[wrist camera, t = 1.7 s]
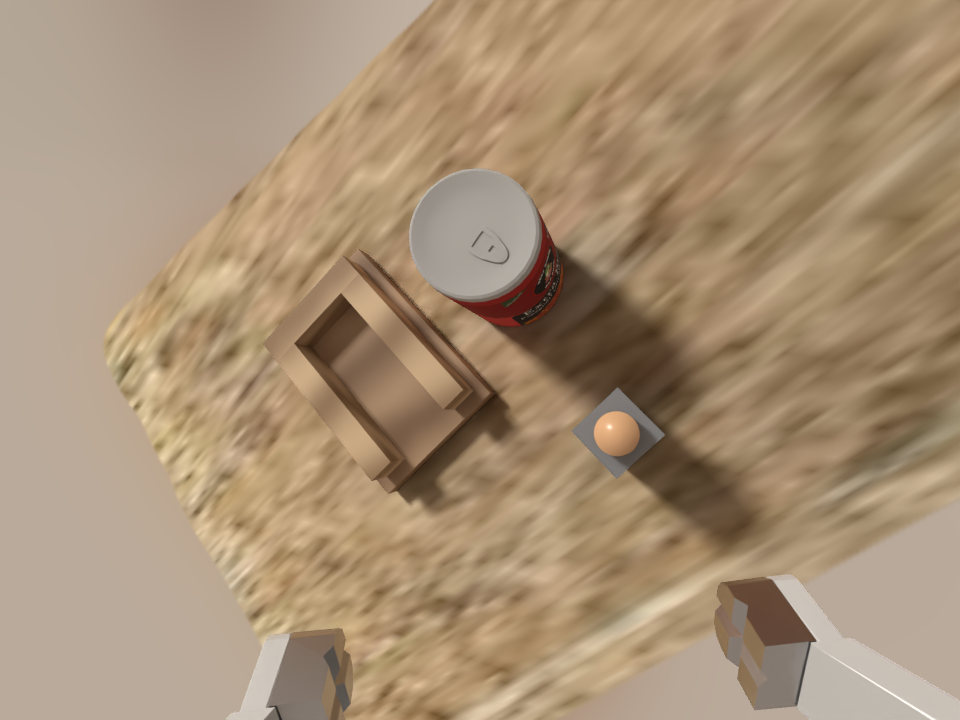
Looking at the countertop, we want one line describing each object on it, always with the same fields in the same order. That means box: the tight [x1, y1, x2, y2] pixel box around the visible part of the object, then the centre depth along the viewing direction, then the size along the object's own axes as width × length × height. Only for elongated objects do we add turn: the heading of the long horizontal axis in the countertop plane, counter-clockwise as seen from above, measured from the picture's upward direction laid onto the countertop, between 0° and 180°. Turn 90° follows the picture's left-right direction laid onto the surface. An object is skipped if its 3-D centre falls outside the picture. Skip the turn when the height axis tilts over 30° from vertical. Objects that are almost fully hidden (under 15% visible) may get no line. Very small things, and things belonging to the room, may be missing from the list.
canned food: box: [409, 168, 563, 327], centre depth 35 cm, size 8×8×11 cm
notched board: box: [263, 249, 495, 494], centre depth 41 cm, size 16×11×4 cm
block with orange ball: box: [572, 387, 665, 478], centre depth 33 cm, size 4×4×9 cm
